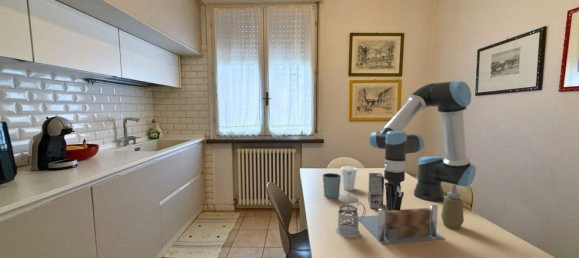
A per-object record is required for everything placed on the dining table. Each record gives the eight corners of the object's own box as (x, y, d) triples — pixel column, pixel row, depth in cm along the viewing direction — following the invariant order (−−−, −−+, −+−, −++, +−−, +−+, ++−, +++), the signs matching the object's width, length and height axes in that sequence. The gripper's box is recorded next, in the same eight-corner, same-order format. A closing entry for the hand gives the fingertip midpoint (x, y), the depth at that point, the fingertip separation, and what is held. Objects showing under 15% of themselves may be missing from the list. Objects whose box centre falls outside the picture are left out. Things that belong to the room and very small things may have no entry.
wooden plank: (426, 232, 97) (428, 207, 97) (430, 235, 96) (431, 209, 95) (384, 236, 94) (385, 210, 94) (387, 238, 93) (388, 212, 92)
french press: (333, 225, 105) (334, 167, 103) (361, 226, 105) (362, 168, 103) (337, 237, 95) (338, 174, 93) (367, 238, 95) (369, 174, 93)
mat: (407, 213, 117) (407, 213, 117) (445, 239, 94) (445, 238, 94) (355, 217, 113) (356, 216, 113) (382, 244, 90) (382, 243, 90)
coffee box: (383, 209, 122) (384, 177, 121) (369, 208, 123) (370, 176, 122) (380, 202, 131) (381, 173, 130) (367, 201, 132) (368, 172, 131)
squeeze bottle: (436, 223, 107) (438, 183, 106) (448, 220, 110) (450, 181, 109) (455, 232, 100) (457, 189, 98) (467, 228, 103) (470, 186, 101)
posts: (433, 233, 98) (434, 204, 97) (440, 238, 94) (442, 208, 94) (376, 238, 94) (377, 208, 93) (381, 243, 91) (382, 212, 90)
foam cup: (357, 191, 150) (358, 170, 148) (342, 190, 150) (343, 169, 149) (354, 186, 159) (354, 166, 158) (339, 186, 159) (340, 166, 158)
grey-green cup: (344, 196, 140) (344, 176, 139) (331, 200, 134) (331, 178, 133) (331, 191, 148) (331, 172, 147) (318, 194, 142) (319, 174, 142)
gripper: (379, 166, 104) (377, 219, 106) (391, 174, 91) (388, 235, 93) (397, 166, 104) (394, 220, 106) (411, 174, 91) (408, 235, 93)
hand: (392, 227), depth 99 cm, fingers closed
